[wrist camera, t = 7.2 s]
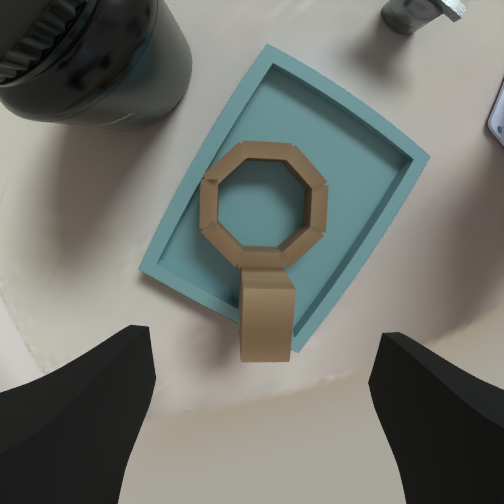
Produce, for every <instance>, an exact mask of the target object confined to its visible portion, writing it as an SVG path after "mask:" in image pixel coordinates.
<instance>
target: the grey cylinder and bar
mask: <svg viewBox="0 0 504 504" xmlns="http://www.w3.org/2000/svg"><path fill="white" fill-rule="evenodd" d="M465 10H466V7H465V6H464V5H463V4H462V3H461V2H460V1H459V0H389V1H388V2H387V3H386V4H385V5H384V7H383V9H382V16H383V19H384V21H385V23H386V24H387V25H388V26H389V27H390V28H391V29H392V30H393V31H395V32H397V33H399V34H403V35H409V34H412V33H413V32H415V31H416V30H418V29H419V28H421V27H423V26H424V25H426V24H427V23H429V22H430V21H432V20H434V19H435V18H437V17H438V16H440V15H442V14H443V13H444V14H445V15H446V16H447V17H448V18H450V19H451V20H452V21H453V22H455V21H457V20H459V19H461V18H462V17H463V14H464V12H465Z"/></svg>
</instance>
